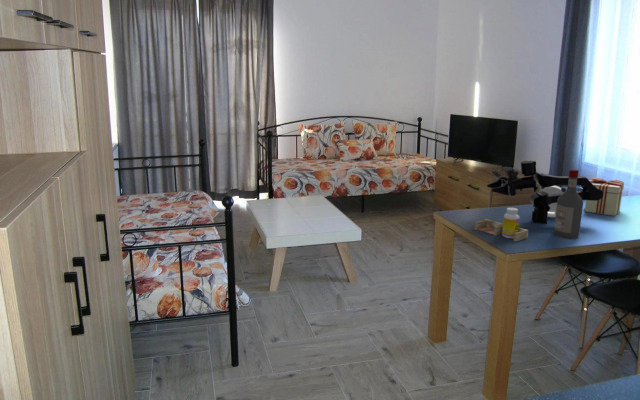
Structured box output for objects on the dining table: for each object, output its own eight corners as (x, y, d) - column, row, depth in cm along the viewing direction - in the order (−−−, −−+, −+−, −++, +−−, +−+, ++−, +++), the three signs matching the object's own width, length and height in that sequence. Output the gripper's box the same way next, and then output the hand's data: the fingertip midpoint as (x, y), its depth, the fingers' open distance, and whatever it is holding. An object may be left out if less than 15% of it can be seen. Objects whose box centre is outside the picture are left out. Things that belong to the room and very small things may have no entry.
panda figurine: (563, 213, 276) (567, 184, 273) (562, 218, 267) (565, 189, 263) (538, 210, 282) (542, 182, 278) (536, 215, 272) (539, 186, 268)
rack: (527, 237, 237) (528, 230, 236) (516, 241, 232) (516, 233, 231) (486, 226, 254) (486, 219, 253) (474, 229, 248) (475, 222, 248)
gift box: (620, 209, 285) (625, 177, 281) (618, 217, 270) (622, 183, 265) (585, 204, 294) (589, 174, 289) (581, 212, 279) (585, 179, 274)
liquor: (566, 239, 234) (575, 172, 227) (550, 234, 242) (557, 168, 235) (581, 237, 238) (590, 171, 230) (565, 231, 246) (573, 167, 238)
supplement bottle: (515, 239, 234) (518, 211, 231) (500, 237, 237) (502, 209, 234) (519, 235, 239) (521, 208, 236) (503, 233, 243) (506, 206, 239)
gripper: (515, 163, 264) (483, 168, 266) (526, 170, 246) (492, 175, 248) (517, 185, 267) (485, 189, 269) (528, 194, 249) (494, 198, 251)
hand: (489, 188), depth 259 cm, fingers open, 9 cm apart
